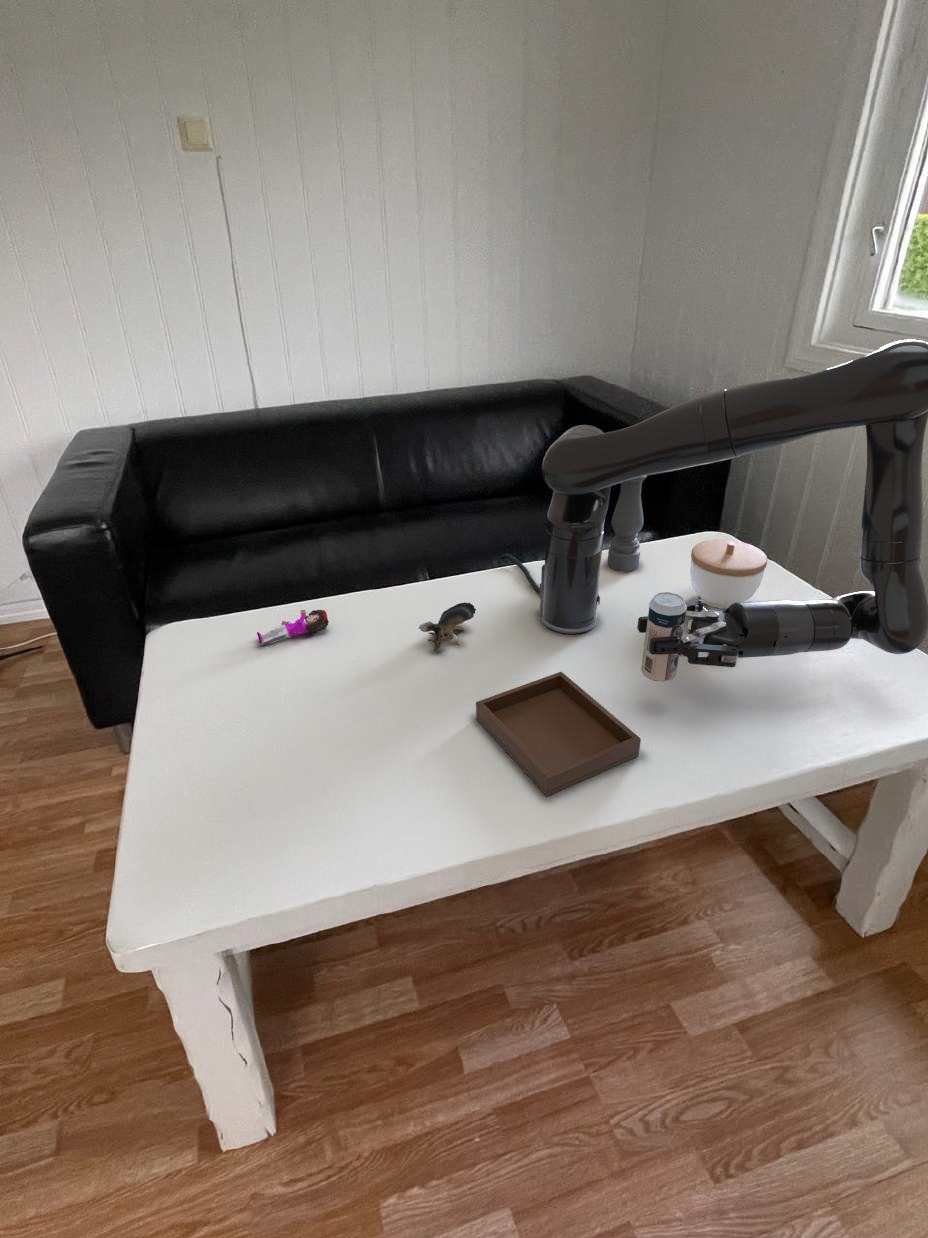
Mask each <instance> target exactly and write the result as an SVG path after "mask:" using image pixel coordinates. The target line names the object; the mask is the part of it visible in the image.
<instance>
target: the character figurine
mask: <svg viewBox="0 0 928 1238" xmlns="http://www.w3.org/2000/svg"><path fill="white" fill-rule="evenodd" d="M329 623H330V622H329V619H328V613H327V611H326V610H325V609H315V610H314V609H313V610H312V611H310V612H308V615H307V611H306V610H305V609H301V610H300V617H299V619H296V620H295V621H294V622H293V623H292V622H291V621H290V620H288V621H287V620H281V625H279V626H277V627H274V628H273V629H271V630H269V631H267V632H265V633H263V634H262V633H260V631H257V632H256V635H257V637H258V641H259V644H260V646H261V647H264V646H266V645H268V644H274V643H276V642H279V641H282V640H285V639H291V638H292V637H293V635H295V634H299V635H300V634H301V635H302V634H305V633H307V634H308V636H313V635H316V634H319V633H320V632H322V631H324V630H327V627H328V626H329Z"/></svg>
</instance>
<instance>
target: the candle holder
mask: <svg viewBox="0 0 928 1238" xmlns="http://www.w3.org/2000/svg"><path fill="white" fill-rule="evenodd" d="M647 477H648V475H646V476H642V477H638V478H634V479H630V480H627V481H624V482H621V483H620V490H619V496H618V499H617V501H616V505H615V508H614V511H613V515H612V516H611V523H610V524H611V527H612V529H613V531H614V536H613V538H612V539H611V540H610V544H609V545H610V546H609V547H608V553H607V563H606V564H607V565H606V566H607V567H608V569H610V570H612V571H615V572H617V573H631V572H635V571H636V570H638V569H639V566H640V556H641V549H640V546H641V545H640V544H641V543H640V541H639V539H638V538H637V537H638V535H639V533H640V532H641V530H642V529H643V527H644V523H645V521H644V511H643V505H642V495H641V494H642V486H643V485H642V484H643V482H644V481H645V480H646V479H647Z"/></svg>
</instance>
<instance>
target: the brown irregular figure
mask: <svg viewBox="0 0 928 1238" xmlns="http://www.w3.org/2000/svg"><path fill="white" fill-rule="evenodd" d="M476 611H477V608H476V607H475V605H473V603H471V602H466V601H465V602H459V603H456V604H455V605H452V606H451V607H449V608H447V609H446V610H444V611H443V612H442V613H441V616H440V617H439V620H438V622H437V623H433V622H432V621H426V622H424V623H422V624H420V625H419V626H418V629H419V630H420V631H421V632H423V633H427V634H428V635H431V636H432V637H433V639H432V638H429V639H427V642H428V643H429V642H431V643H433V644H434V648H433V652H434V653H435V652H437V651H438V650H439V649H441V647H442V644H443V642H445V641H449V640H451V641H452V642H455V643H456V644H458V645H459V646H460V644H461V642H460V638H459V637H458V636H457V635H456V634H455V632H454V631H455V630H458V631H459V630H461V631H465V630H466V629H465V627H463V626H460V625H462V624H463V623H464V622H467V621H470V620H471V619H473V618H474V616H475V614H476Z"/></svg>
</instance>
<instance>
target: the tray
mask: <svg viewBox="0 0 928 1238" xmlns="http://www.w3.org/2000/svg"><path fill="white" fill-rule="evenodd" d="M475 719H476V720H477V721H478V723H479V724H480V725H481V726H482V727H483V728H484V729H485V730H486V731H487V733H488V734H489V735H490V736H491V737H492V738H493V740H495V742H497V744H498V745H499V746H500V747H501V748H502V749H503V750H504V751H505V752H506V753H507V755H508V756H509V757H510V758H511V759H512V760H513V761H514V762H515V764H517V766H518V767H519V768H520V769H521V770H522V771H523V773H524V774H526V775H527V776H528V778H529V779H530V781H532V782H533V783H534V784H535V786H536V787H537V788H538V789H539V790H540V791H541V792H542V793H543V794H544V795H545V797H549V796H552V795H555V794H556V793H558V792H561V791H563V790H565V789H567V788H570V787H572V786H575V785H576V784H579V783H581V782H583V781H585V780H588V779H591V778H593V777H595V776H597V775H600V774H601V773H604V772H606V771H608V770H610V769H613V768H615V767H618V766H620V765H622V764H623V763H626V762H629V761H631V760H633V759H635V758H638V757H639V756H640V749H641V742H642V738H641V737H640V736H639V735H637V734H636V732H634V731H632V730H631V729H630V728H629V726H626V724H624V723H623V722H622V721H621V720H620V719H618V718H617V717H616V716H615V715H614V714H612V713H611V712H610V711H609V710H608V709H607V708H605V707H604V706H603V705H602V704H600V702H598V701H597V700H596V699H594V697H593V696H591V695H590V694H589V693H588V692H587V691H585V689H583V688H581V686H579V685H578V684H577V683H575V682H574V681H573V680H572V679H571V678H570V677H568V676H567V675H566V674H565V673H564V672H562V671H558V672H556V673H553V674H550V675H548V676H547V675H546V676H544V677H542V678H538V679H536V680H533V681H531V682H527V683H525V684H521V685H520V686H516V687H514V688H510V689H508V690H505V691H503V692H500V693H497V694H494V695H491V696H489V697H486V698H483V699H479V700H477V701H475Z"/></svg>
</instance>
